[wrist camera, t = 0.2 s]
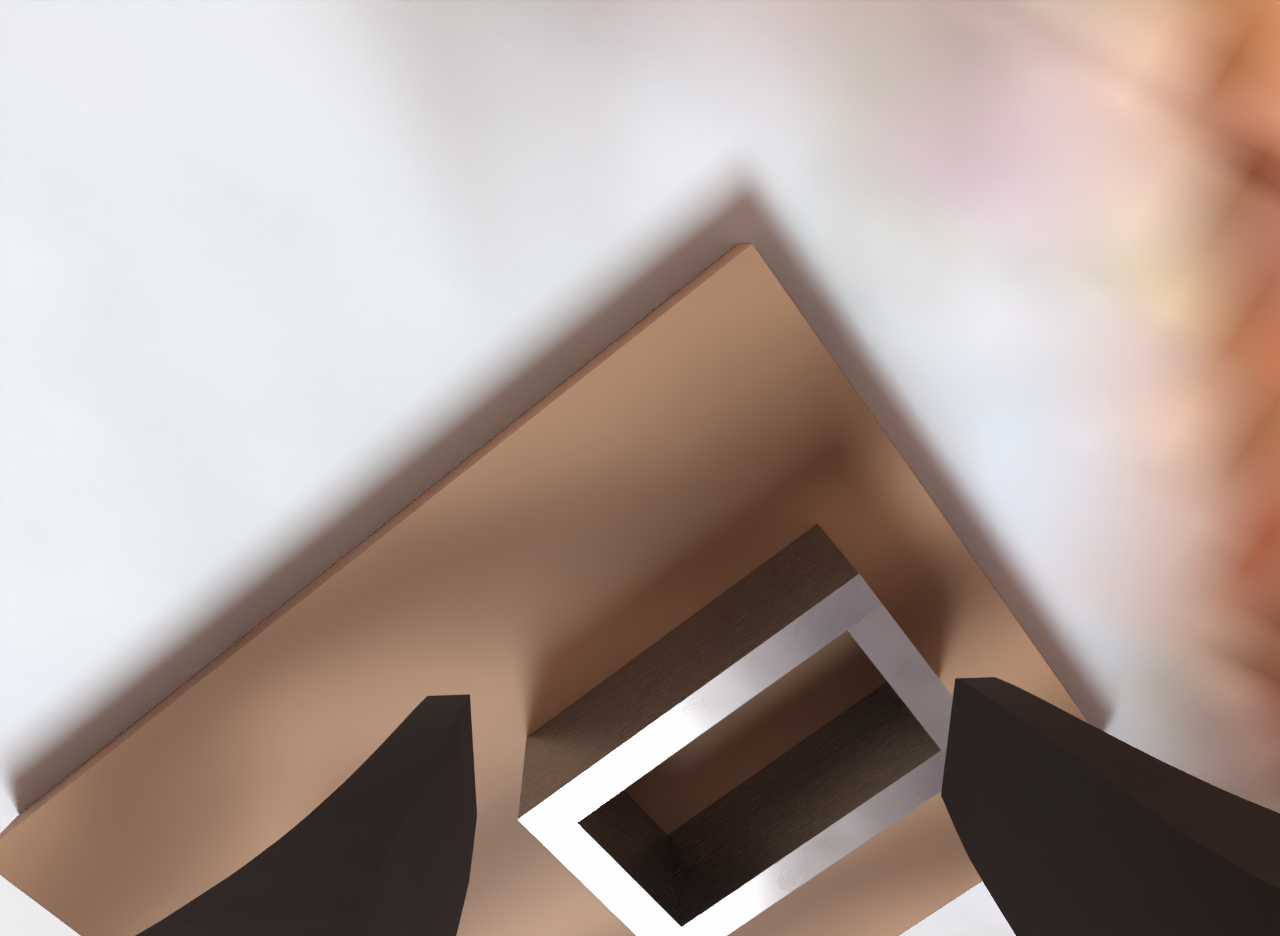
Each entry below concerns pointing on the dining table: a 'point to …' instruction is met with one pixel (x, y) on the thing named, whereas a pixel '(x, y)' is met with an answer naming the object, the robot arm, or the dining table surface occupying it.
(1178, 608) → the dining table surface
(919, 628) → the keeper board
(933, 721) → the silver rectangular frame
